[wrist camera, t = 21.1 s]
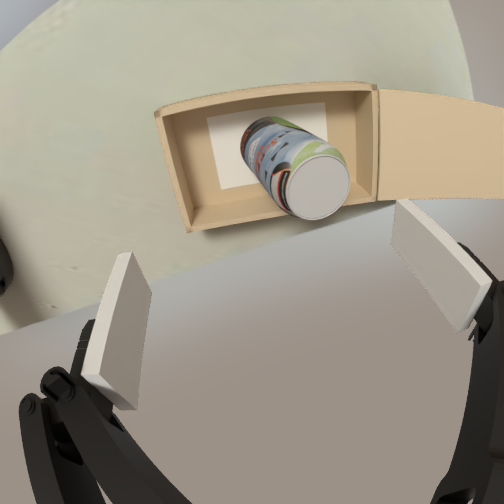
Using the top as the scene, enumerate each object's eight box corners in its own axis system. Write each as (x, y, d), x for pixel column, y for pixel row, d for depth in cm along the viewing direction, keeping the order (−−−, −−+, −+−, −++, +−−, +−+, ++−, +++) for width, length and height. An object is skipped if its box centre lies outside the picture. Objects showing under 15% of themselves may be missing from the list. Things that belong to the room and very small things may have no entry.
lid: (505, 198, 25) (503, 196, 25) (517, 112, 18) (515, 111, 18) (378, 200, 28) (376, 198, 28) (379, 89, 21) (377, 88, 21)
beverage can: (237, 115, 26) (251, 144, 16) (310, 114, 26) (364, 144, 17) (240, 173, 29) (254, 234, 20) (308, 170, 30) (353, 227, 20)
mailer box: (190, 211, 32) (186, 233, 28) (163, 106, 25) (153, 112, 21) (358, 184, 32) (375, 201, 28) (355, 81, 25) (376, 84, 21)
